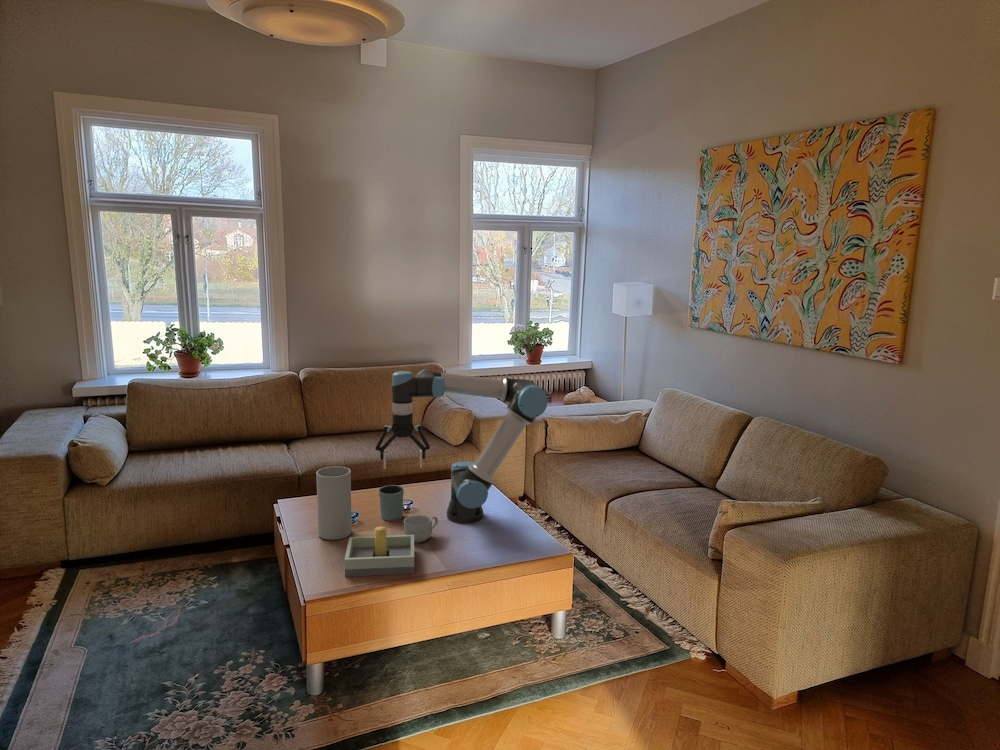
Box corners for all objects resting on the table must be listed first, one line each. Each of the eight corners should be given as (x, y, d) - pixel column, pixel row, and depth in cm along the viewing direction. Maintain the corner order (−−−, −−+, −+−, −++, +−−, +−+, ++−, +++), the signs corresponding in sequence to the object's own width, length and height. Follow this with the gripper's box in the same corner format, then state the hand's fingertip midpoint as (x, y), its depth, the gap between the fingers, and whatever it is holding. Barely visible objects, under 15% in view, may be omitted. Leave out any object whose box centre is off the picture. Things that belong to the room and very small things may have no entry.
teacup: (409, 547, 245) (409, 527, 244) (399, 536, 255) (399, 516, 253) (444, 540, 251) (444, 520, 250) (433, 530, 261) (433, 510, 259)
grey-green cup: (401, 511, 279) (401, 483, 277) (406, 520, 270) (406, 492, 268) (377, 513, 276) (377, 486, 274) (381, 523, 267) (380, 494, 264)
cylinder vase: (343, 542, 248) (341, 478, 244) (312, 538, 251) (310, 475, 246) (357, 529, 260) (355, 467, 256) (327, 526, 263) (325, 465, 258)
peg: (386, 563, 232) (386, 530, 230) (374, 563, 232) (374, 531, 230) (386, 558, 236) (386, 526, 234) (375, 558, 236) (374, 526, 233)
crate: (414, 550, 243) (414, 534, 242) (414, 573, 225) (414, 556, 224) (349, 552, 240) (349, 537, 239) (344, 576, 222) (344, 559, 221)
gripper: (435, 410, 254) (435, 463, 257) (369, 410, 250) (370, 464, 254) (436, 414, 246) (436, 469, 250) (367, 415, 243) (368, 471, 247)
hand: (403, 467), depth 252 cm, fingers open, 13 cm apart
